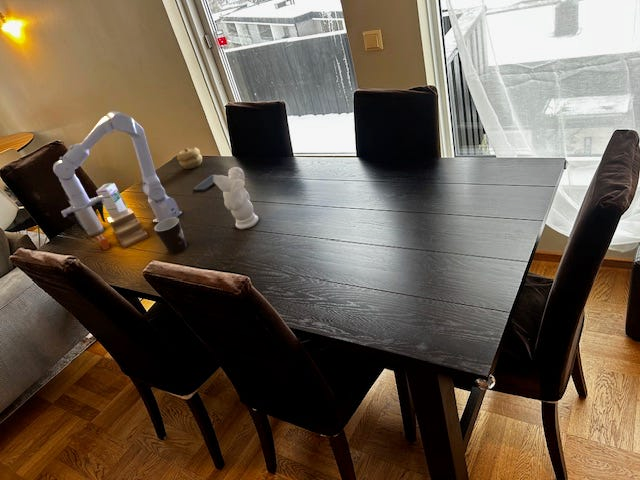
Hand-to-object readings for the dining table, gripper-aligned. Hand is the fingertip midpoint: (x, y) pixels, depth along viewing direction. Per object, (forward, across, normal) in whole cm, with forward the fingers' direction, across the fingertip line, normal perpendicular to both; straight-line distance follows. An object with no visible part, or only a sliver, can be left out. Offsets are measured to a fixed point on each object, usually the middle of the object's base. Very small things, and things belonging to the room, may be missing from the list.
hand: (93, 225), depth 167 cm
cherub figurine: (+9, +46, -36) cm, 59 cm away
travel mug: (+10, -1, +18) cm, 21 cm away
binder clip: (+10, 0, 0) cm, 10 cm away
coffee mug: (+9, +23, -27) cm, 37 cm away
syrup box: (+10, +10, +24) cm, 28 cm away
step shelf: (+9, +10, +1) cm, 14 cm away
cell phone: (+8, +50, +18) cm, 53 cm away
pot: (+9, +52, +48) cm, 72 cm away
